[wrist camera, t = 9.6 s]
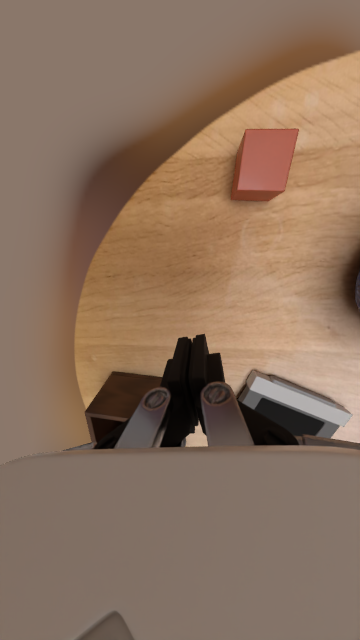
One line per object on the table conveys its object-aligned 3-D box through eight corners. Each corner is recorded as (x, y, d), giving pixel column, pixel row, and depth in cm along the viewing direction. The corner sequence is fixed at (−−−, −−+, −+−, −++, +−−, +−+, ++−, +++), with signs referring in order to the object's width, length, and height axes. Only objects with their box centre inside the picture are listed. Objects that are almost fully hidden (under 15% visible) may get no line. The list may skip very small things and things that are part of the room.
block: (230, 200, 21) (236, 190, 17) (237, 151, 19) (245, 128, 15) (269, 201, 21) (284, 191, 17) (279, 152, 19) (299, 128, 15)
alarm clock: (212, 441, 34) (262, 388, 26) (212, 418, 38) (255, 366, 30) (294, 473, 34) (368, 430, 26) (285, 447, 38) (347, 403, 30)
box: (121, 432, 41) (100, 479, 33) (112, 371, 34) (84, 412, 26) (179, 441, 40) (173, 492, 32) (183, 380, 33) (177, 425, 25)
